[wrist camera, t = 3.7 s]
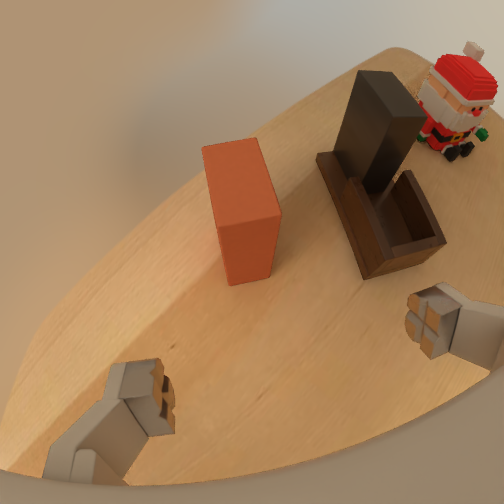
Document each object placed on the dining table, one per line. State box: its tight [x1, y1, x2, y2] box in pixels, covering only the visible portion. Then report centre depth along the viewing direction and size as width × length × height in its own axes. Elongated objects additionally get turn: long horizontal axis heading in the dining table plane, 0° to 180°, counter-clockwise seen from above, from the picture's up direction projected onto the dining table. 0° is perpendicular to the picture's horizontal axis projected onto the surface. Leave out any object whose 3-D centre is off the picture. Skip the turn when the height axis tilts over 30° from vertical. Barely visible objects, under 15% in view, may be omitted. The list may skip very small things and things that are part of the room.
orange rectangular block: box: [202, 138, 282, 286], centre depth 19 cm, size 3×5×9 cm, turn 13°
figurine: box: [417, 42, 498, 161], centre depth 23 cm, size 8×7×12 cm
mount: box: [316, 70, 447, 280], centre depth 20 cm, size 6×12×10 cm, turn 13°
